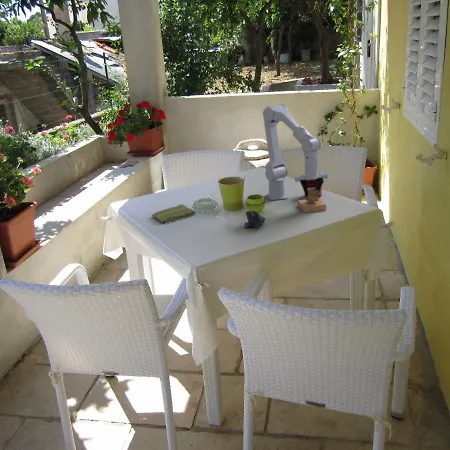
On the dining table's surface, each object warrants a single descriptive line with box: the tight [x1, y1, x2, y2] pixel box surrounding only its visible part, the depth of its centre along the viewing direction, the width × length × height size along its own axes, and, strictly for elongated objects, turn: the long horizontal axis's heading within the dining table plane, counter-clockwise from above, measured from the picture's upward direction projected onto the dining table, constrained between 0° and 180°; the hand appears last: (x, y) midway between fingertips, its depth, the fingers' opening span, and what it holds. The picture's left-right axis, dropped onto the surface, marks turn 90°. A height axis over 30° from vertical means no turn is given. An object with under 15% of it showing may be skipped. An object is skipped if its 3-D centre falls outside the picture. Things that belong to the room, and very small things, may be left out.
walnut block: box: [305, 188, 318, 202], centre depth 217 cm, size 4×4×5 cm
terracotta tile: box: [297, 197, 327, 214], centre depth 219 cm, size 10×10×2 cm
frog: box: [244, 210, 266, 229], centre depth 202 cm, size 9×11×7 cm
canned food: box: [306, 171, 323, 198], centre depth 233 cm, size 8×8×11 cm
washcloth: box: [151, 204, 196, 224], centre depth 222 cm, size 13×18×3 cm
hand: (311, 195), depth 217 cm, fingers closed on walnut block, 4 cm apart
